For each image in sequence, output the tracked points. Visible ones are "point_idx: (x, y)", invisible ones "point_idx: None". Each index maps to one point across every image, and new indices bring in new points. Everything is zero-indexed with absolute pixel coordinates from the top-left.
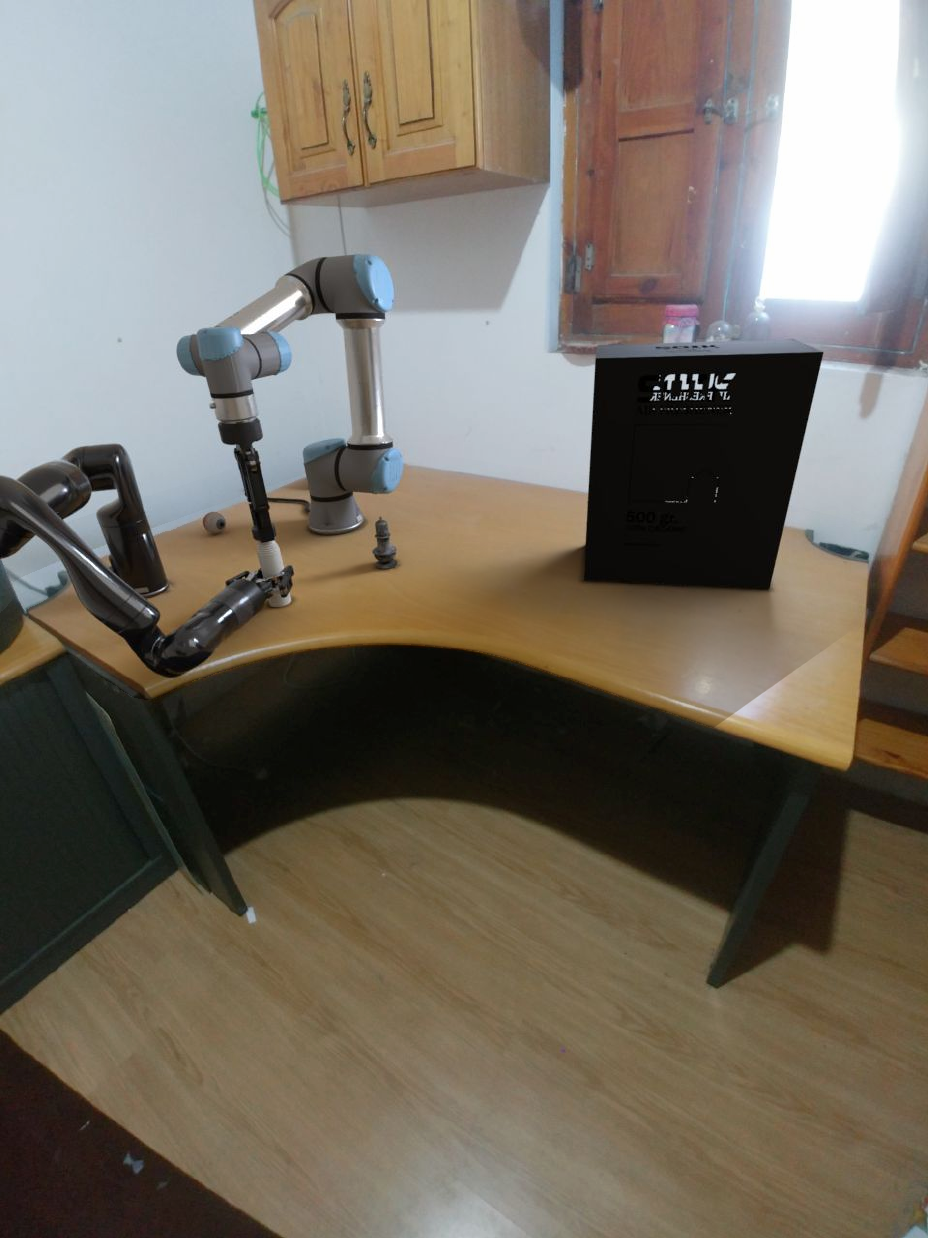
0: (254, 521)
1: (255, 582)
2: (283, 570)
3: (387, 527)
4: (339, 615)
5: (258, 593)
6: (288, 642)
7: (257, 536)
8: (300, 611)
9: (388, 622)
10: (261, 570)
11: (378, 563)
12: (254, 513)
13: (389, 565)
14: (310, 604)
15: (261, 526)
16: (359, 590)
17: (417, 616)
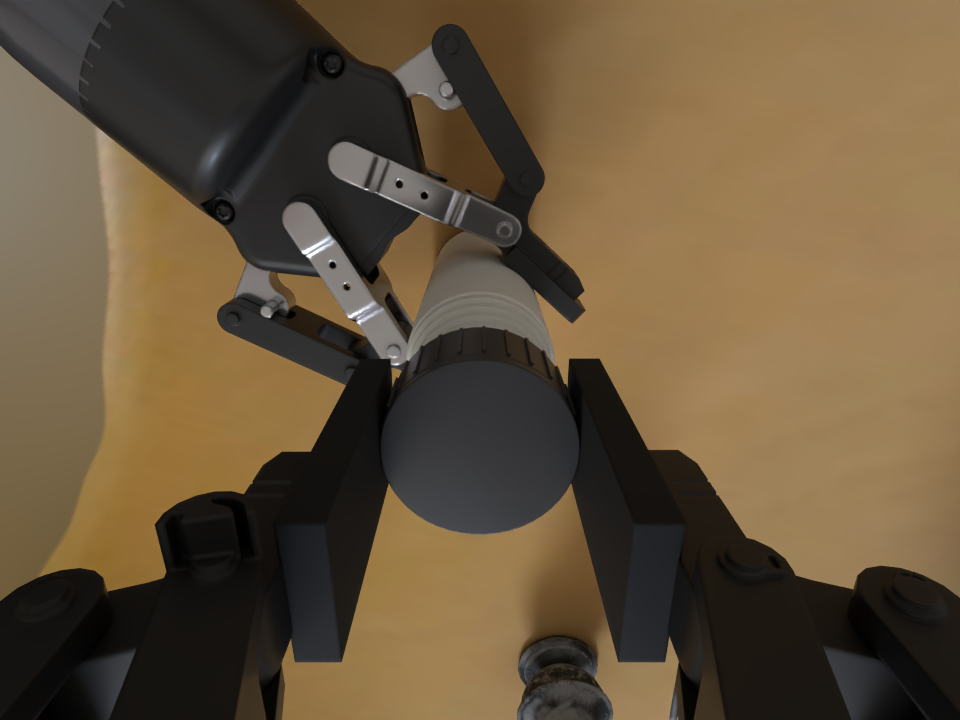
0: (589, 420)
1: (350, 200)
2: None
3: None
4: (254, 437)
5: (171, 186)
6: (120, 225)
7: (417, 362)
8: (355, 326)
9: (137, 546)
10: (478, 263)
11: (564, 652)
12: (279, 510)
13: (525, 672)
14: (394, 372)
15: (302, 455)
16: (411, 542)
17: None
